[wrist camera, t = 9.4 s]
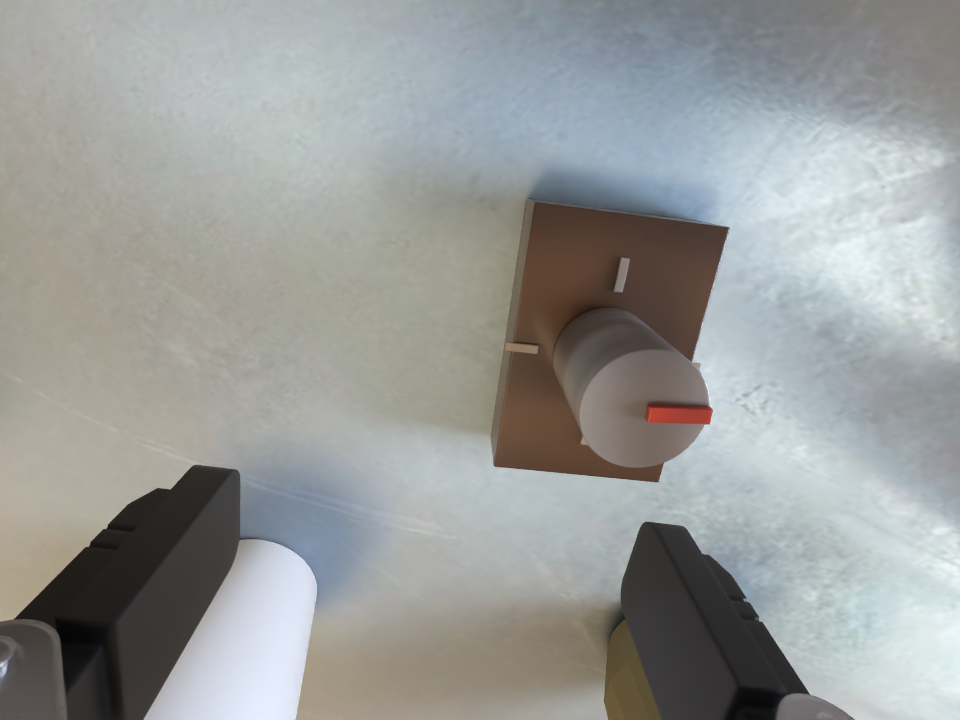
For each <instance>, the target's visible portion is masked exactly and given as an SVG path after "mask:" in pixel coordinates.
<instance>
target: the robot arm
mask: <svg viewBox="0 0 960 720" xmlns="http://www.w3.org/2000/svg"><path fill="white" fill-rule="evenodd" d="M239 538H240V474H239V472H238V470H235V469H227V468H218V467H210V466H202V465H194V466H192V467H191V468H190V469H189V470H188V471H187V472H186V474H185V475H184V476H183V477H182V478H181V479H180V480H179V481H178V482H177V483H176V485H175V486H174V487H173V488H172V489H171V490H169V489H161V488H157V489H155V490H153V491H152V492H150V493H148V494H146V495H144V496H142V497H141V498H139V499H137V500H135V501H133V502H131V503H130V504H128V505H127V506H126V507H125V508H124V509H123V510H122V511H121V512H120V513H119V514H118V515H117V516H116V517H115V518H114V519H113V520H112V521H111V522H110V523H109V524H108V527H107V529H103V530H102V531H101V532H100V533H99V534H98V535H97V536H96V537H95V538H94V539H93V540H92V541H91V542H90V546H89V547H85V548H84V549H83V550H82V551H81V552H80V553H79V554H78V555H77V556H76V557H75V558H74V559H73V560H72V561H71V562H70V563H69V564H68V565H67V566H66V568H65V569H64V570H63V571H62V572H61V573H60V574H59V575H58V576H57V577H56V578H55V579H54V580H53V581H52V582H51V583H50V584H49V585H48V586H47V587H46V588H45V589H44V590H43V591H42V592H41V593H40V594H39V595H38V596H37V597H36V598H35V599H34V600H33V601H32V602H31V603H30V604H29V605H28V606H27V607H26V608H25V609H24V610H23V611H22V612H21V613H20V614H19V615H18V616H17V617H16V618H15V619H14V620H8V621H2V622H0V720H144V718H145V716H146V714H147V713H148V711H149V709H150V708H151V706H152V704H153V702H154V701H155V699H156V697H157V695H158V694H159V692H160V690H161V689H162V687H163V685H164V683H165V682H166V680H167V678H168V676H169V675H170V673H171V671H172V670H173V668H174V666H175V664H176V663H177V661H178V659H179V657H180V656H181V654H182V652H183V651H184V649H185V647H186V645H187V644H188V642H189V640H190V638H191V637H192V635H193V633H194V632H195V630H196V628H197V626H198V625H199V623H200V621H201V619H202V618H203V616H204V614H205V612H206V611H207V609H208V607H209V606H210V604H211V602H212V600H213V599H214V597H215V595H216V593H217V592H218V590H219V588H220V587H221V585H222V583H223V581H224V580H225V578H226V576H227V574H228V573H229V571H230V569H231V567H232V565H233V562H234V560H235V557H236V553H237V549H238V545H239ZM621 605H622V610H623V614H624V617H625V620H626V623H627V625H628V628H629V631H630V634H631V636H632V639H633V642H634V645H635V648H636V650H637V653H638V656H639V659H640V661H641V664H642V667H643V670H644V673H645V675H646V678H647V681H648V684H649V686H650V689H651V692H652V695H653V698H654V700H655V703H656V706H657V709H658V711H659V714H660V717H661V720H854V719H853V718H852V717H851V716H849V715H848V714H847V713H845V712H844V711H843V710H841V709H839V708H838V707H836V706H835V705H833V704H831V703H829V702H827V701H825V700H823V699H820V698H818V697H815V696H812V695H810V694H809V692H808V691H807V689H806V688H805V686H804V685H803V683H802V682H801V680H800V679H799V677H798V676H797V674H796V673H795V671H794V669H793V668H792V666H791V665H790V663H789V662H788V660H787V659H786V657H785V656H784V654H783V653H782V651H781V650H780V648H779V647H778V645H777V644H776V642H775V641H774V639H773V638H772V636H771V635H770V633H769V632H768V630H767V629H766V627H765V626H764V624H763V622H759V616H758V615H757V613H756V612H755V610H754V609H753V607H752V606H751V604H750V603H749V602H746V597H745V595H744V594H743V592H742V591H741V589H740V588H739V586H738V585H737V583H736V582H735V580H734V579H733V577H732V576H731V575H730V574H729V573H728V572H727V571H726V570H725V569H724V568H723V567H722V566H720V565H719V564H718V563H717V562H716V561H715V560H714V559H713V558H712V557H711V556H709V555H704V554H702V553H701V551H700V550H699V548H698V546H697V545H696V543H695V541H694V540H693V538H692V537H691V535H690V533H689V532H688V530H687V529H686V528H685V527H683V526H678V525H670V524H662V523H654V522H645V523H643V524H642V526H641V527H640V530H639V532H638V535H637V538H636V541H635V544H634V547H633V550H632V553H631V556H630V559H629V562H628V565H627V568H626V571H625V574H624V577H623V581H622V586H621Z"/></svg>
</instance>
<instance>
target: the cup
mask: <svg viewBox="0 0 960 720" xmlns="http://www.w3.org/2000/svg"><path fill="white" fill-rule="evenodd" d="M316 597H317V584H316V580H315V577H314V574H313V572H312V571H311V569H310V567H309V566H308V565H307V563H306V562H305V561H304V560H303V559H302V558H301V557H300V556H298V555H297V554H296V553H294V552H293V551H291V550H290V549H288V548H286V547H284V546H282V545H279V544H276V543H273V542H270V541H265V540H257V539H246V540H239V545H238V549H237V553H236V557H235V560H234V562H233V565H232V567H231V569H230V571H229V573H228V574H227V576H226V578H225V580H224V581H223V583H222V585H221V587H220V588H219V590H218V592H217V593H216V595H215V597H214V599H213V600H212V602H211V604H210V606H209V607H208V609H207V611H206V612H205V614H204V616H203V618H202V619H201V621H200V623H199V625H198V626H197V628H196V630H195V632H194V633H193V635H192V637H191V638H190V640H189V642H188V644H187V645H186V647H185V649H184V651H183V652H182V654H181V656H180V657H179V659H178V661H177V663H176V664H175V666H174V668H173V670H172V671H171V673H170V675H169V676H168V678H167V680H166V682H165V683H164V685H163V687H162V689H161V690H160V692H159V694H158V695H157V697H156V699H155V701H154V702H153V704H152V706H151V708H150V709H149V711H148V713H147V714H146V716H145V718H144V720H296V715H297V709H298V703H299V698H300V692H301V686H302V680H303V674H304V668H305V662H306V656H307V650H308V644H309V638H310V633H311V627H312V621H313V615H314V609H315V603H316Z"/></svg>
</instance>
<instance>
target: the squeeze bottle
mask: <svg viewBox="0 0 960 720" xmlns="http://www.w3.org/2000/svg"><path fill="white" fill-rule="evenodd" d="M604 703H605V707H606V711H607V716H608V720H661V717H660V714H659V711H658V709H657V706H656V703H655V700H654V698H653V695H652V692H651V689H650V686H649V684H648V681H647V678H646V675H645V673H644V670H643V667H642V664H641V661H640V659H639V656H638V653H637V650H636V648H635V645H634V642H633V639H632V636H631V634H630V631H629V628H628V625H627V623H626V620H625V619H624V620H623V621H622V622H621V623H620V624H619V625H618V626H617V628H616V629H615V630H614V631H613V632H612V634H611V638H610V641H609V644H608V650H607V665H606V679H605V694H604Z"/></svg>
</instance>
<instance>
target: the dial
mask: <svg viewBox="0 0 960 720" xmlns="http://www.w3.org/2000/svg"><path fill="white" fill-rule="evenodd" d="M553 366H554V371H555V374H556V377H557V379H558V381H559V384H560V386H561V388H562V390H563V393H564V395H565V397H566V399H567V401H568V404H569V406H570V408H571V410H572V413H573V415H574V417H575V419H576V421H577V424H578V426H579V428H580V430H581V433H582V435H583V437H584V439H585V441H586V442H587V444H588V445H589V447H590V448H591V449H592V450H593V451H594V452H595V453H596V454H597V455H598V456H600V457H601V458H603V459H604V460H606V461H608V462H610V463H613V464H616V465H619V466H623V467H630V468H644V467H651V466H655V465H659V464H661V463H664V462H667V461H669V460H671V459H673V458H675V457H676V456H678V455H679V454H681V453H682V452H683V451H685V450H686V449H687V448H688V447H689V446H690V445H691V444H692V443H693V442H694V441H695V439H696V438H697V437H698V435H699V434H700V432H701V431H702V429H703V427H704V425H705V424H710V421H711V416H712V412H713V409H712V408H711V407H710V406H709V391H708V387H707V384H706V381H705V379H704V377H703V375H702V374H701V372H700V371H699V369H698V368H697V367H696V366H695V365H694V364H693V363H692V362H691V361H690V360H688V359H687V358H686V357H685V356H684V355H682V354H681V353H680V352H679V351H678V350H676V349H675V348H674V347H673V346H672V345H670V344H669V343H668V342H667V341H666V340H664V339H663V338H662V337H661V336H660V335H658V334H657V333H656V332H655V331H653V330H652V329H651V328H650V327H649V326H647V325H646V324H645V323H644V322H643V321H641V320H640V319H639V318H638V317H636V316H635V315H633V314H631V313H630V312H627V311H625V310H621V309H617V308H600V309H595V310H591V311H588V312H586V313H584V314H582V315H580V316H578V317H577V318H575V319H574V320H573V321H572V322H571V323H569V324H568V325H567V326H566V328H565V329H564V330H563V331H562V333H561V335H560V336H559V338H558V340H557V342H556V345H555V349H554V354H553Z"/></svg>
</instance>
